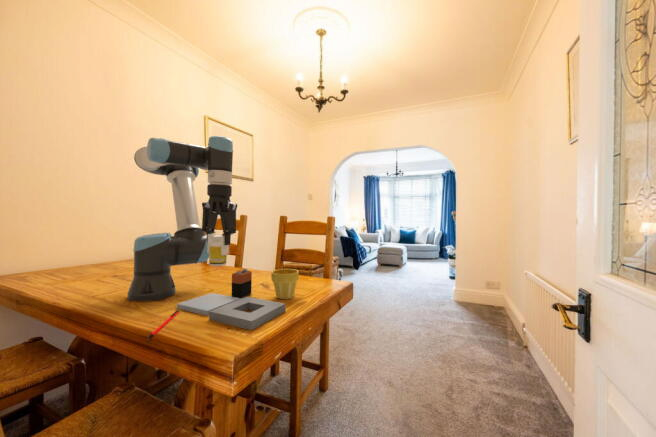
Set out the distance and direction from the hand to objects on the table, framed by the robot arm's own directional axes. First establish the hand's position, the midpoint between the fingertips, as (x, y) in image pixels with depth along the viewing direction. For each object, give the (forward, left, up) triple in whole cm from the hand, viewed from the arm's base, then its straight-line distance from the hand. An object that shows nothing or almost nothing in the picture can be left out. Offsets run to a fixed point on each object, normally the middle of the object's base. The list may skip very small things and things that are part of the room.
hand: (218, 253), depth 88 cm
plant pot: (+14, +20, -18) cm, 30 cm away
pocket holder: (+15, -1, -18) cm, 23 cm away
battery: (-1, +13, -18) cm, 22 cm away
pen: (-2, -17, -18) cm, 25 cm away
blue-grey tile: (-3, 0, -18) cm, 18 cm away
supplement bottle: (0, 0, -4) cm, 4 cm away
